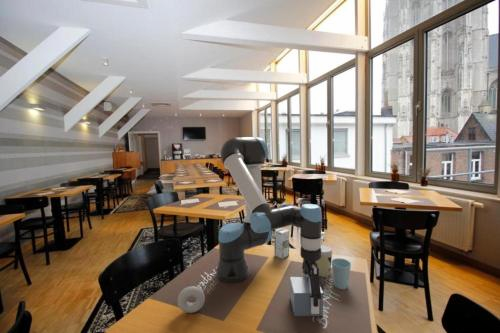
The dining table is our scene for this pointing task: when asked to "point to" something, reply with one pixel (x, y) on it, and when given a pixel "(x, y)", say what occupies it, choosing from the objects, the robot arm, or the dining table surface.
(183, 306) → the grey ring
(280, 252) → the syrup box
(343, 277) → the cup
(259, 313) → the dining table surface
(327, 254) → the coffee cup
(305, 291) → the slate blue cube
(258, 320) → the dining table surface
